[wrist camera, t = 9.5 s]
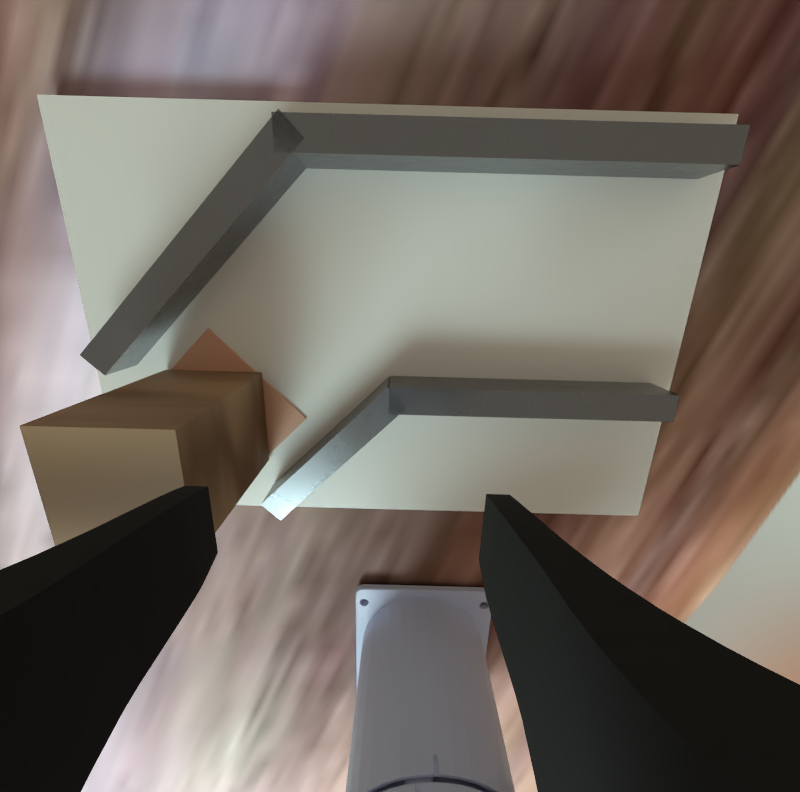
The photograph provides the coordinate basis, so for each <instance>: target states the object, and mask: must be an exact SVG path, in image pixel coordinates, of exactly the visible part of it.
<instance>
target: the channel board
mask: <svg viewBox="0 0 800 792" xmlns="http://www.w3.org/2000/svg"><path fill="white" fill-rule="evenodd" d="M37 97H38V102H39V106H40V111H41V115H42V120H43V124H44V129H45V134H46V138H47V143H48V147H49V152H50V156H51V161H52V165H53V170H54V175H55V179H56V184H57V188H58V193H59V197H60V202H61V206H62V211H63V215H64V220H65V225H66V229H67V234H68V238H69V243H70V247H71V252H72V256H73V261H74V266H75V270H76V275H77V279H78V284H79V288H80V293H81V297H82V302H83V306H84V311H85V316H86V320H87V325H88V329H89V334H90V338H91V341H92V339H93V338H94V337H95V336H96V334H97V333H98V332H99V331H100V329H101V328H102V327H103V326H104V324H105V323H106V322H107V321H108V319H109V318H110V317H111V316H112V314H113V313H114V312H115V311H116V309H117V308H118V307H119V306H120V305H121V303H122V302H123V301H124V300H125V298H126V297H127V296H128V295H129V293H130V292H131V291H132V290H133V288H134V287H135V286H136V285H137V283H138V282H139V281H140V280H141V278H142V277H143V276H144V275H145V273H146V272H147V271H148V270H149V268H150V267H151V266H152V265H153V263H154V262H155V261H156V260H157V259H158V257H159V256H160V255H161V254H162V252H163V251H164V250H165V249H166V247H167V246H168V245H169V244H170V242H171V241H172V240H173V239H174V237H175V236H176V235H177V234H178V232H179V231H180V230H181V229H182V227H183V226H184V225H185V224H186V222H187V221H188V220H189V219H190V217H191V216H192V215H193V214H194V213H195V211H196V210H197V209H198V208H199V206H200V205H201V204H202V203H203V201H204V200H205V199H206V198H207V196H208V195H209V194H210V193H211V191H212V190H213V189H214V188H215V186H216V185H217V184H218V183H219V181H220V180H221V179H222V178H223V176H224V175H225V174H226V173H227V172H228V170H229V169H230V168H231V167H232V165H233V164H234V163H235V162H236V160H237V159H238V158H239V157H240V155H241V154H242V153H243V152H244V150H245V149H246V148H247V147H248V145H249V144H250V143H251V142H252V140H253V139H254V138H255V137H256V135H257V134H258V133H259V132H260V130H261V129H262V128H263V127H264V126H265V124H266V123H267V122H268V121H269V119H270V118H271V117H272V115H271V112H276V111H277V109H279V110H280V111H281V112H300V113H337V114H373V115H409V116H446V117H482V118H518V119H555V120H591V121H628V122H664V123H700V124H736V123H737V119H738V115H739V114H721V113H685V112H648V111H612V110H576V109H539V108H503V107H467V106H430V105H394V104H358V103H321V102H285V101H248V100H212V99H176V98H139V97H103V96H67V95H37ZM724 171H725V170H723V171H720V172H717V173H714V174H711V175H708V176H705V177H702V178H699V179H674V178H638V177H601V176H565V175H528V174H492V173H455V172H419V171H382V170H346V169H309V168H306V169H305V170H304V171H303V173H302V174H301V175H300V176H299V177H298V178H297V180H296V181H295V182H294V183H293V184H292V185H291V187H290V188H289V189H288V190H287V191H286V192H285V194H284V195H283V196H282V197H281V198H280V199H279V201H278V202H277V203H276V204H275V205H274V206H273V208H272V209H271V210H270V211H269V212H268V213H267V215H266V216H265V217H264V218H263V219H262V220H261V222H260V223H259V224H258V225H257V226H256V227H255V229H254V230H253V231H252V232H251V233H250V234H249V236H248V237H247V238H246V239H245V240H244V241H243V242H242V244H241V245H240V246H239V247H238V248H237V249H236V251H235V252H234V253H233V254H232V255H231V256H230V258H229V259H228V260H227V261H226V262H225V263H224V265H223V266H222V267H221V268H220V269H219V270H218V272H217V273H216V274H215V275H214V276H213V277H212V279H211V280H210V281H209V282H208V283H207V284H206V286H205V287H204V288H203V289H202V290H201V291H200V293H199V294H198V295H197V296H196V297H195V298H194V300H193V301H192V302H191V303H190V304H189V305H188V307H187V308H186V309H185V310H184V311H183V312H182V314H181V315H180V316H179V317H178V318H177V319H176V320H175V322H174V323H173V324H172V325H171V326H170V327H169V329H168V330H167V331H166V332H165V333H164V334H163V336H162V337H161V338H160V339H159V340H158V341H157V343H156V344H155V345H154V346H153V347H152V348H151V350H150V351H149V352H148V353H147V354H146V355H145V357H144V358H143V359H142V360H141V361H140V362H139V364H138V365H136V366H133V367H130V368H127V369H124V370H120V371H117V372H114V373H111V374H108V375H104V374H102V373H101V372H100V371H99V370H98V369H97V370H98V375H99V379H100V384H101V388H102V393H103V394H104V393H106V392H109V391H112V390H114V389H117V388H119V387H122V386H125V385H127V384H130V383H132V382H135V381H138V380H140V379H143V378H145V377H148V376H151V375H153V374H156V373H158V372H161V371H164V370H194V371H232V372H262V380H263V391H264V402H265V414H266V425H267V437H268V448H269V461H268V462H267V463H266V465H265V466H264V467H263V469H262V470H261V471H260V473H259V474H258V476H257V477H256V478H255V480H254V481H253V482H252V484H251V485H250V486H249V488H248V489H247V490H246V492H245V493H244V494H243V496H242V497H241V499H240V500H239V501H238V503H237V504H236V505H255V506H262V505H261V503H262V502H263V500H264V499H265V497H266V496H267V494H268V492H269V491H270V489H271V488H272V486H273V484H274V483H275V482H276V481H277V480H278V479H279V478H280V477H281V476H282V475H283V474H284V473H285V472H286V471H288V470H289V469H290V468H291V467H292V466H293V465H294V464H295V463H296V462H297V461H298V460H299V459H300V458H302V457H303V456H304V455H305V454H306V453H307V452H308V451H309V450H310V449H311V448H312V447H313V446H314V445H316V444H317V443H318V442H319V441H320V440H321V439H322V438H323V437H324V436H325V435H326V434H327V433H329V432H330V431H331V430H332V429H333V428H334V427H335V426H336V425H337V424H338V423H339V422H340V421H341V420H343V419H344V418H345V417H346V416H347V415H348V414H349V413H350V412H351V411H352V410H353V409H354V408H355V407H357V406H358V405H359V404H360V403H361V402H362V401H363V400H364V399H365V398H366V397H367V396H368V395H369V394H371V393H372V392H373V391H374V390H375V389H376V388H377V387H378V386H379V385H380V384H381V383H382V382H384V381H385V380H386V379H387V378H388V377H391V376H419V377H455V378H492V379H529V380H566V381H603V382H640V383H652V384H654V385H656V386H659V387H661V388H664V389H666V390H668V391H669V390H670V387H671V383H672V379H673V375H674V371H675V367H676V363H677V359H678V355H679V351H680V347H681V343H682V339H683V335H684V331H685V327H686V323H687V319H688V315H689V311H690V307H691V303H692V299H693V295H694V291H695V287H696V283H697V279H698V275H699V271H700V267H701V263H702V259H703V255H704V251H705V247H706V243H707V239H708V235H709V231H710V227H711V223H712V219H713V215H714V211H715V207H716V203H717V199H718V195H719V191H720V187H721V183H722V179H723V175H724ZM660 426H661V422H650V421H613V420H577V419H540V418H503V417H466V416H429V415H398V416H397V417H396V418H395V419H394V420H393V421H392V422H391V423H389V424H388V425H387V426H386V427H385V428H384V429H383V430H382V431H380V432H379V433H378V434H377V435H376V436H375V437H374V438H373V439H371V440H370V441H369V442H368V443H367V444H366V445H365V446H364V447H362V448H361V449H360V450H359V451H358V452H357V453H356V454H355V455H353V456H352V457H351V458H350V459H349V460H348V461H347V462H346V463H344V464H343V465H342V466H341V467H340V468H339V469H338V470H337V471H335V472H334V473H333V474H332V475H331V476H330V477H329V478H328V479H326V480H325V481H324V482H323V483H322V484H321V485H320V486H319V487H317V488H316V489H315V490H314V491H313V492H312V493H311V494H310V495H308V496H307V497H306V498H305V499H304V500H303V501H302V502H301V503H299V504H298V505H297V506H296V507H330V508H367V509H404V510H441V511H478V512H484V509H485V500H486V494H506V495H511V496H512V497H513V498H515V499H516V500H517V501H518V502H519V503H521V504H522V505H523V506H524V507H525V508H526V509H528V510H529V511H530V512H531V513H552V514H589V515H627V516H638V514H639V510H640V506H641V502H642V498H643V494H644V490H645V486H646V482H647V478H648V474H649V470H650V466H651V462H652V458H653V454H654V450H655V446H656V442H657V438H658V434H659V430H660Z"/></svg>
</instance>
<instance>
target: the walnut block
mask: <svg viewBox="0 0 800 792" xmlns="http://www.w3.org/2000/svg"><path fill="white" fill-rule="evenodd" d="M20 429H21V432H22V436H23V439H24V442H25V446H26V449H27V452H28V456H29V459H30V463H31V466H32V469H33V473H34V476H35V479H36V483H37V486H38V489H39V493H40V496H41V499H42V503H43V506H44V509H45V513H46V516H47V520H48V523H49V526H50V530H51V533H52V536H53V540H54V543H55V546H57V545H59V544H61V543H63V542H65V541H68V540H70V539H72V538H74V537H76V536H78V535H81V534H83V533H85V532H87V531H89V530H91V529H94V528H96V527H98V526H100V525H102V524H104V523H106V522H108V521H110V520H112V519H114V518H116V517H118V516H120V515H122V514H124V513H126V512H128V511H130V510H133V509H135V508H137V507H139V506H141V505H143V504H145V503H147V502H149V501H151V500H153V499H155V498H157V497H159V496H162V495H164V494H166V493H168V492H170V491H173V490H175V489H178V488H180V487H183V486H208V488H209V495H210V502H211V509H212V516H213V523H214V530H215V532H216V531H217V530H218V528H219V527H220V526H221V524H222V523H223V522H224V520H225V519H226V517H227V516H228V515H229V513H230V512H231V511H232V509H233V508H234V507H235V505H236V504H237V503H238V501H239V500H240V499H241V497H242V496H243V494H244V493H245V492H246V490H247V489H248V488H249V486H250V485H251V484H252V482H253V481H254V480H255V478H256V477H257V476H258V474H259V473H260V471H261V470H262V469H263V467H264V466H265V465H266V463H267V462H268V461H269V448H268V437H267V425H266V414H265V402H264V391H263V380H262V372H232V371H194V370H164V371H161V372H158V373H156V374H153V375H151V376H148V377H145V378H143V379H140V380H138V381H135V382H132V383H130V384H127V385H125V386H122V387H119V388H117V389H114V390H112V391H109V392H106V393H104V394H101V395H99V396H96V397H93V398H91V399H88V400H86V401H83V402H80V403H78V404H75V405H72V406H70V407H67V408H65V409H62V410H59V411H57V412H54V413H52V414H49V415H46V416H44V417H41V418H39V419H36V420H33V421H31V422H28V423H26V424H23V425H20Z"/></svg>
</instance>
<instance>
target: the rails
mask: <svg viewBox="0 0 800 792" xmlns="http://www.w3.org/2000/svg"><path fill="white" fill-rule="evenodd" d="M271 115H272V117H271V118H270V119H269V121H268V122H267V123H266V124H265V126H264V127H263V128H262V129H261V130H260V132H259V133H258V134H257V135H256V137H255V138H254V139H253V140H252V142H251V143H250V144H249V145H248V147H247V148H246V149H245V150H244V152H243V153H242V154H241V155H240V157H239V158H238V159H237V160H236V162H235V163H234V164H233V165H232V167H231V168H230V169H229V170H228V172H227V173H226V174H225V175H224V176H223V178H222V179H221V180H220V181H219V183H218V184H217V185H216V186H215V188H214V189H213V190H212V191H211V193H210V194H209V195H208V196H207V198H206V199H205V200H204V201H203V203H202V204H201V205H200V206H199V208H198V209H197V210H196V211H195V213H194V214H193V215H192V216H191V217H190V219H189V220H188V221H187V222H186V224H185V225H184V226H183V227H182V229H181V230H180V231H179V232H178V234H177V235H176V236H175V237H174V239H173V240H172V241H171V242H170V244H169V245H168V246H167V247H166V249H165V250H164V251H163V252H162V254H161V255H160V256H159V257H158V259H157V260H156V261H155V262H154V263H153V265H152V266H151V267H150V268H149V270H148V271H147V272H146V273H145V275H144V276H143V277H142V278H141V280H140V281H139V282H138V283H137V285H136V286H135V287H134V288H133V290H132V291H131V292H130V293H129V295H128V296H127V297H126V298H125V300H124V301H123V302H122V303H121V305H120V306H119V307H118V308H117V309H116V311H115V312H114V313H113V314H112V316H111V317H110V318H109V319H108V321H107V322H106V323H105V324H104V326H103V327H102V328H101V329H100V331H99V332H98V333H97V334H96V336H95V337H94V338H93V339H92V341H91V342H90V343H89V344H88V346H87V347H86V348H85V349H84V351H83V352H82V353H81V354H80V355H81V356H82V357H83V358H84V359H85V360H87V361H88V362H89V363H90V364H91V365H93V366H94V367H95V368H96V369H98V370H99V371H100V372H101V373H102V374H104V375H108V374H111V373H114V372H117V371H120V370H124V369H127V368H130V367H133V366H136V365H138V364H139V362H140V361H141V360H142V359H143V358H144V357H145V355H146V354H147V353H148V352H149V351H150V350H151V348H152V347H153V346H154V345H155V344H156V343H157V341H158V340H159V339H160V338H161V337H162V336H163V334H164V333H165V332H166V331H167V330H168V329H169V327H170V326H171V325H172V324H173V323H174V322H175V320H176V319H177V318H178V317H179V316H180V315H181V314H182V312H183V311H184V310H185V309H186V308H187V307H188V305H189V304H190V303H191V302H192V301H193V300H194V298H195V297H196V296H197V295H198V294H199V293H200V291H201V290H202V289H203V288H204V287H205V286H206V284H207V283H208V282H209V281H210V280H211V279H212V277H213V276H214V275H215V274H216V273H217V272H218V270H219V269H220V268H221V267H222V266H223V265H224V263H225V262H226V261H227V260H228V259H229V258H230V256H231V255H232V254H233V253H234V252H235V251H236V249H237V248H238V247H239V246H240V245H241V244H242V242H243V241H244V240H245V239H246V238H247V237H248V236H249V234H250V233H251V232H252V231H253V230H254V229H255V227H256V226H257V225H258V224H259V223H260V222H261V220H262V219H263V218H264V217H265V216H266V215H267V213H268V212H269V211H270V210H271V209H272V208H273V206H274V205H275V204H276V203H277V202H278V201H279V199H280V198H281V197H282V196H283V195H284V194H285V192H286V191H287V190H288V189H289V188H290V187H291V185H292V184H293V183H294V182H295V181H296V180H297V178H298V177H299V176H300V175H301V174H302V173H303V171H304V170H305V169H306V168H309V169H346V170H382V171H419V172H455V173H492V174H528V175H565V176H601V177H638V178H674V179H699V178H702V177H705V176H708V175H711V174H714V173H717V172H720V171H723V170H726V169H729V168H732V167H735V166H738V165H740V163H741V159H742V155H743V151H744V147H745V144H746V140H747V136H748V132H749V128H750V125H737V124H700V123H664V122H628V121H591V120H555V119H518V118H482V117H446V116H409V115H373V114H337V113H300V112H281V111H280V110H279V109H277V111H276V112H271ZM679 397H680V395H678V394H675V393H673V392H671V391H668V390H666V389H664V388H661V387H659V386H656V385H654V384H652V383H640V382H603V381H566V380H529V379H492V378H455V377H419V376H391V377H388V378H387V379H386V380H385V381H384V382H382V383H381V384H380V385H379V386H378V387H377V388H376V389H375V390H374V391H373V392H372V393H371V394H369V395H368V396H367V397H366V398H365V399H364V400H363V401H362V402H361V403H360V404H359V405H358V406H357V407H355V408H354V409H353V410H352V411H351V412H350V413H349V414H348V415H347V416H346V417H345V418H344V419H343V420H341V421H340V422H339V423H338V424H337V425H336V426H335V427H334V428H333V429H332V430H331V431H330V432H329V433H327V434H326V435H325V436H324V437H323V438H322V439H321V440H320V441H319V442H318V443H317V444H316V445H314V446H313V447H312V448H311V449H310V450H309V451H308V452H307V453H306V454H305V455H304V456H303V457H302V458H300V459H299V460H298V461H297V462H296V463H295V464H294V465H293V466H292V467H291V468H290V469H289V470H288V471H286V472H285V473H284V474H283V475H282V476H281V477H280V478H279V479H278V480H277V481H276V482H275V483H274V484H273V486H272V488H271V489H270V491H269V492H268V494H267V496H266V497H265V499H264V500H263V502H262V503H261V505H262V506H263V507H265V508H266V509H267V510H268V511H270V512H271V513H272V514H273V515H274V516H276V517H277V518H278V519H279V520H282V519H283V518H284V517H285V516H286V515H287V514H288V513H289V512H291V511H292V510H293V509H294V508H295V507H296V506H297V505H298V504H299V503H301V502H302V501H303V500H304V499H305V498H306V497H307V496H308V495H310V494H311V493H312V492H313V491H314V490H315V489H316V488H317V487H319V486H320V485H321V484H322V483H323V482H324V481H325V480H326V479H328V478H329V477H330V476H331V475H332V474H333V473H334V472H335V471H337V470H338V469H339V468H340V467H341V466H342V465H343V464H344V463H346V462H347V461H348V460H349V459H350V458H351V457H352V456H353V455H355V454H356V453H357V452H358V451H359V450H360V449H361V448H362V447H364V446H365V445H366V444H367V443H368V442H369V441H370V440H371V439H373V438H374V437H375V436H376V435H377V434H378V433H379V432H380V431H382V430H383V429H384V428H385V427H386V426H387V425H388V424H389V423H391V422H392V421H393V420H394V419H395V418H396V417H397V416H398V415H429V416H466V417H503V418H540V419H577V420H613V421H650V422H673V420H674V416H675V413H676V409H677V405H678V401H679Z"/></svg>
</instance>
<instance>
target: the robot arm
mask: <svg viewBox="0 0 800 792" xmlns="http://www.w3.org/2000/svg"><path fill="white" fill-rule="evenodd" d="M217 553H218V551H217V544H216V537H215V530H214V523H213V516H212V509H211V502H210V495H209V488H208V486H183V487H180V488H178V489H175V490H173V491H170V492H168V493H166V494H164V495H162V496H159V497H157V498H155V499H153V500H151V501H149V502H147V503H145V504H143V505H141V506H139V507H137V508H135V509H133V510H130V511H128V512H126V513H124V514H122V515H120V516H118V517H116V518H114V519H112V520H110V521H108V522H106V523H104V524H102V525H100V526H98V527H96V528H94V529H91V530H89V531H87V532H85V533H83V534H81V535H78V536H76V537H74V538H72V539H70V540H68V541H65V542H63V543H61V544H59V545H57V546H54V547H52V548H50V549H48V550H46V551H44V552H41V553H39V554H37V555H35V556H32V557H30V558H28V559H25V560H23V561H21V562H18V563H16V564H13V565H11V566H9V567H6V568H4V569H1V570H0V792H81V790H82V788H83V786H84V784H85V782H86V780H87V778H88V776H89V774H90V772H91V770H92V768H93V766H94V765H95V763H96V761H97V759H98V757H99V755H100V753H101V752H102V750H103V748H104V746H105V744H106V742H107V740H108V738H109V737H110V735H111V733H112V731H113V729H114V727H115V725H116V724H117V722H118V720H119V718H120V716H121V714H122V712H123V711H124V709H125V707H126V705H127V704H128V702H129V701H130V699H131V697H132V696H133V694H134V692H135V691H136V689H137V687H138V686H139V684H140V682H141V681H142V679H143V678H144V676H145V675H146V673H147V672H148V670H149V668H150V667H151V665H152V664H153V662H154V661H155V659H156V658H157V656H158V655H159V653H160V652H161V650H162V648H163V647H164V645H165V644H166V642H167V641H168V639H169V638H170V636H171V635H172V633H173V631H174V630H175V628H176V627H177V625H178V624H179V622H180V621H181V619H182V617H183V616H184V614H185V613H186V611H187V610H188V608H189V606H190V605H191V603H192V602H193V600H194V599H195V597H196V595H197V594H198V592H199V590H200V589H201V587H202V585H203V583H204V580H205V578H206V576H207V574H208V572H209V570H210V568H211V566H212V564H213V562H214V559H215V557H216V555H217ZM479 562H480V568H481V573H482V579H483V585H484V587H450V586H413V585H376V584H362V585H360V586H358V587H357V590H356V673H357V695H356V704H355V713H354V722H353V731H352V740H351V749H350V758H349V767H348V776H347V785H346V792H515V790H514V785H513V781H512V776H511V772H510V767H509V762H508V758H507V753H506V749H505V744H504V739H503V735H502V730H501V726H500V721H499V716H498V712H497V707H496V703H495V698H494V694H493V689H492V684H491V680H490V675H489V671H488V666H487V661H486V651H487V643H488V635H489V627H490V619H491V616H492V620H493V623H494V626H495V630H496V633H497V636H498V639H499V643H500V646H501V649H502V652H503V655H504V659H505V662H506V665H507V668H508V672H509V675H510V678H511V681H512V685H513V688H514V691H515V694H516V698H517V702H518V705H519V709H520V713H521V717H522V720H523V725H524V730H525V734H526V739H527V743H528V748H529V752H530V757H531V762H532V766H533V771H534V775H535V780H536V785H537V790H538V792H800V685H799V684H797V683H795V682H793V681H791V680H789V679H787V678H785V677H783V676H781V675H779V674H777V673H775V672H773V671H771V670H769V669H767V668H765V667H763V666H761V665H758V664H757V663H755V662H753V661H751V660H749V659H747V658H745V657H744V656H742V655H740V654H738V653H736V652H734V651H732V650H730V649H728V648H727V647H725V646H723V645H721V644H719V643H717V642H716V641H714V640H712V639H711V638H709V637H707V636H705V635H704V634H702V633H700V632H698V631H696V630H695V629H693V628H691V627H689V626H688V625H686V624H684V623H682V622H681V621H679V620H677V619H676V618H674V617H672V616H671V615H669V614H667V613H666V612H664V611H662V610H661V609H659V608H658V607H656V606H654V605H653V604H651V603H650V602H648V601H647V600H645V599H644V598H642V597H641V596H639V595H638V594H636V593H635V592H633V591H631V590H630V589H628V588H627V587H625V586H624V585H622V584H621V583H620V582H618V581H617V580H615V579H614V578H612V577H611V576H609V575H608V574H607V573H605V572H604V571H603V570H601V569H600V568H599V567H597V566H596V565H595V564H593V563H592V562H591V561H589V560H588V559H587V558H585V557H584V556H583V555H581V554H580V553H579V552H578V551H576V550H575V549H574V548H573V547H571V546H570V545H569V544H568V543H566V542H565V541H564V540H563V539H561V538H560V537H559V536H558V535H557V534H555V533H554V532H553V531H552V530H551V529H550V528H548V527H547V526H546V525H545V524H544V523H543V522H541V521H540V520H539V519H538V518H537V517H536V516H534V515H533V514H532V513H531V512H530V511H529V510H528V509H526V508H525V507H524V506H523V505H522V504H521V503H519V502H518V501H517V500H516V499H515V498H513V497H512V496H511V495H506V494H486V500H485V509H484V518H483V528H482V537H481V546H480V556H479ZM362 599H366V601H364V600H362ZM483 602H486V603H484V604H481V603H483Z"/></svg>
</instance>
